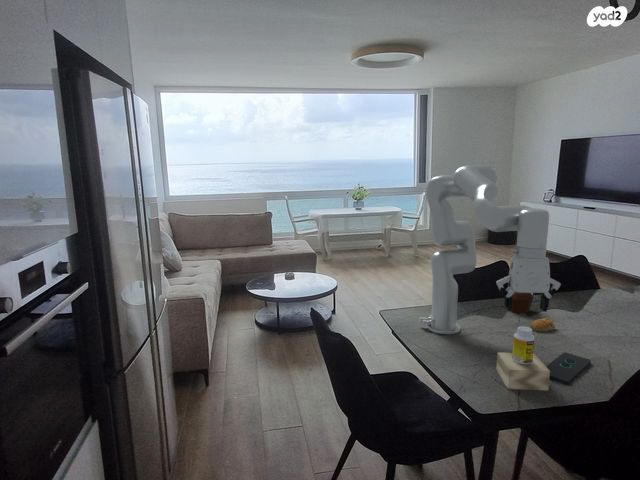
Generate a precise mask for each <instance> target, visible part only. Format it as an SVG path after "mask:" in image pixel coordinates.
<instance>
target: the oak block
mask: <svg viewBox="0 0 640 480" xmlns="http://www.w3.org/2000/svg"><path fill="white" fill-rule="evenodd" d="M512 354H513V352H500V351H499V352H497V354H496V368H495V369H496V371H497V373H498V375H499V376H500V377H499V378H501V380H502V381H503V383H504V384H505V387H506V388H507V389H508V390H527V391H529V390H530V391H546V392H547V391H549V387H550V379H549V378H550V370H549V369H548V368H547V367H546V366H547V365H545V363H543V362H542V360H541V359H540V358H539V357H538V356H537V354H536V353H533V362H532V363H531V364H528V365H524V364H519V363H517V362H515V361H514V360H513V359H512Z"/></svg>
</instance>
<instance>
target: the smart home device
mask: <svg viewBox="0 0 640 480" xmlns="http://www.w3.org/2000/svg"><path fill="white" fill-rule="evenodd" d="M591 361H592V360H591V359H588V358H586V357H582V356H579V355H574V354H573V353H569V352H562V354H560V355H559V356H557V357H556V358H555V359H553V360H552V361H551V362H550V363H548V364H547V365H545V366H546V367H547V368H548V369H549V370H550V378H549V380H551V381H555V382H556V383H560V384H562V385H566V386H568V385H570V384H572V382H574V380H575V379H577V378H578V377H579V376H580V374H582V373H583V372H584V371H585V370H586V369H587V368H588V367H590V365H591Z"/></svg>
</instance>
